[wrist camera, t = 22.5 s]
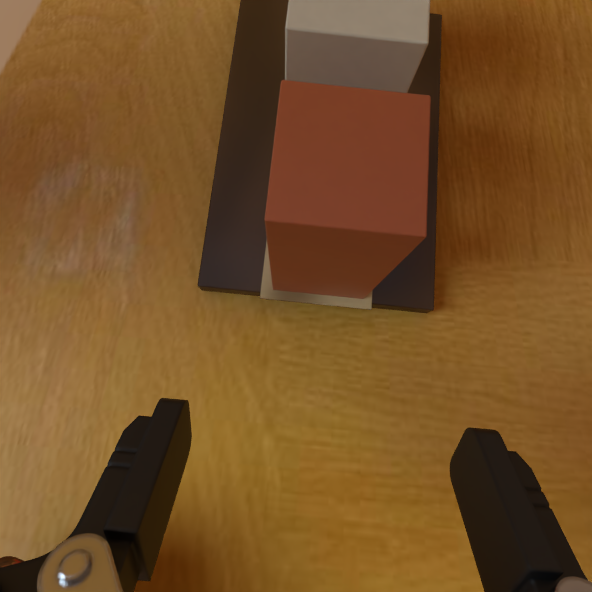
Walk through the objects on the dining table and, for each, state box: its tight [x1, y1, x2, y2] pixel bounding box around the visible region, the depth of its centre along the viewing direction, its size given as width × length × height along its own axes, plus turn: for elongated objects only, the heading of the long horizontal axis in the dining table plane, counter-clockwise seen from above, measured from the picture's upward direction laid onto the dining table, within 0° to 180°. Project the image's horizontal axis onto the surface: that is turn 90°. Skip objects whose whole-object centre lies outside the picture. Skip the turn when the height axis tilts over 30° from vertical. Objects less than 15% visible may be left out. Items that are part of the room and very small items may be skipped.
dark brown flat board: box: [198, 0, 442, 313], centre depth 22 cm, size 12×18×1 cm, turn 174°
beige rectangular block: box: [285, 0, 430, 93], centre depth 17 cm, size 5×5×9 cm
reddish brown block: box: [264, 80, 431, 299], centre depth 16 cm, size 5×5×9 cm
